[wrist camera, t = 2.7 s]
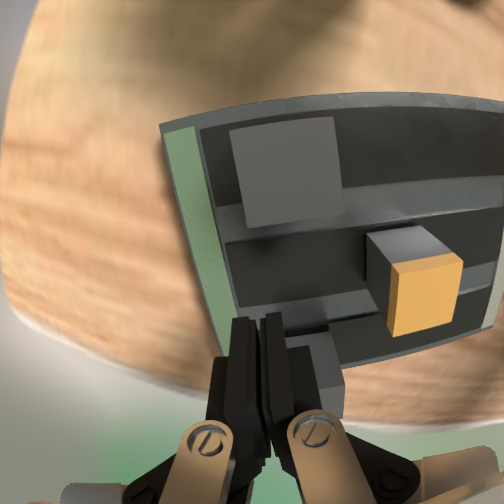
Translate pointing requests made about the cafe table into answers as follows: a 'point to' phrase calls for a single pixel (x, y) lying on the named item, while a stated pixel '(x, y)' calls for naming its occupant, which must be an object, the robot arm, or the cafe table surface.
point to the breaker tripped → (412, 278)
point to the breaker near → (288, 171)
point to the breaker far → (324, 369)
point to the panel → (347, 216)
